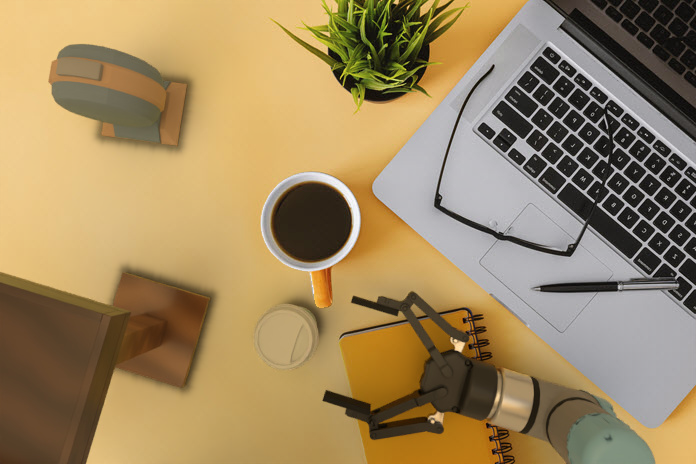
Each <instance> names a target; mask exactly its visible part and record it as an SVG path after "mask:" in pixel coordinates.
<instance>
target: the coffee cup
mask: <svg viewBox="0 0 696 464" xmlns="http://www.w3.org/2000/svg"><path fill="white" fill-rule="evenodd" d="M252 337H253V340H252V341H253V345H254V349H255V351H256V354H257V356H258V357H259V359H260V360H261V361H263V363H265V364H266V365H267V366H268V367H271V368H273V369H275V370H279V371H293V370H295V369H299V368H301V367H303V366H305V365H306V364H307V363H308V362H309V361H310V360H311V359H312V358H313V356H314V355H315V353H316V352H317V348H318V345H319V340H320V339H319V328H318V321H317V318H316V315H315V314H314V313H313V312H312V311H311V310H310V309H308V308H307V307H304V306H302V305H301V306H300V305H296V304H291V303H281V304H276V305H274V306H272V307H270V308H268V309H266V310H265V311H264V312H263V313H262V314H261V315H260V317H259V318H258V320H257V321H256V324H255V326H254V329H253V336H252Z"/></svg>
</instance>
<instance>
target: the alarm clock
mask: <svg viewBox="0 0 696 464" xmlns="http://www.w3.org/2000/svg"><path fill="white" fill-rule="evenodd" d="M49 69H50V70H49V74H48V75H49V76H48V84H50V86H51V96H52V98H53V101H54V102H55V103H56V104H57V105H58V106H60V107H61V108H63V109H64V110H66V111H68V112H70V113H73V114H75V115H78V116H81V117H84V118H87V119H90V120H94V121H98V122H102V129H101V136H103V137H112V138H117V139H126V140H133V141H140V142H148V143H155V144H163V145H167V146H176V147H177V146H178V143H179V137H180V131H181V126H182V119H183V112H184V106H185V100H186V94H187V87H188V84H187V83H181V82H175V81H174V82H173V81H170V80H164V79H163V76H162V74H161V72H160V71H159V70H158V69H157V68H156V67H154V66H153V65H152V64H150V63H149V62H147V61H145V60H143V59H141V58H139V57H137V56H134V55H132V54H130V53H127V52H124V51H121V50H118V49H114V48H110V47H106V46H103V45H97V44H89V43H75V44H68V45H65V46H64V47H63V48H62V49H61V50H60V51H58V53H57V56H56V59H54V60H52V61H51V64H50V68H49Z"/></svg>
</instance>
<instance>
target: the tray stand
mask: <svg viewBox="0 0 696 464" xmlns="http://www.w3.org/2000/svg"><path fill="white" fill-rule="evenodd" d="M210 301H211V297H209V296H207V295H206V296H205V295H202V294H198V293H196V292H192V291H189V290H186V289H183V288H180V287H175V286H172V285H169V284H165V283H162V282H159V281H155V280H152V279H149V278H147V277H142V276H139V275H136V274H132V273H129V272H122V273H121V277H120V279H119V283H118V286H117V289H116V293H115V296H114V300H113V303H112V306H114V307H118V308H121V309H124V310H127V311H131V315H130V318H129V321H128V325H127V328H126V331H125V335H124V338H123V341H122V345H121V348H120V351H119V355H118V358H117V362H116V365H115V368H117V369H120V370H123V371H126V372H129V373H133V374H135V375H140V376H143V377H146V378H148V379H151V380H155V381H159V382H162V383H165V384H167V385H171V386H175V387H178V388H181V389H183V388H184V387H185V386H186V383H187V379H188V376H189V373H190V369H191V365H192V363H193V359H194V355H195V353H196V352H195V351H196V349H197V346H198V342H199V338H200V335H201V331H202V328H203V325H204V321H205V318H206V314H207V312H208V308H209V305H210Z"/></svg>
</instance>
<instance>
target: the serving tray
mask: <svg viewBox="0 0 696 464" xmlns="http://www.w3.org/2000/svg"><path fill="white" fill-rule="evenodd" d="M130 315H131V311H127V310H124V309H121V308H118V307H114V306H113V305H110V304H107V303H104V302H101V301H97V300H94V299H92V298H88V297H85V296H82V295H78V294H75V293H72V292H68V291H65V290H62V289H58V288H55V287H52V286H49V285H45V284H42V283H39V282H35V281H32V280H29V279H25V278H22V277H19V276H16V275H12V274H9V273H6V272H2V271H0V464H87V462H88V459H89V455H90V452H91V448H92V445H93V443H94V438H95V435H96V431H97V429H98V425H99V421H100V418H101V415H102V411H103V408H104V406H105V402H106V399H107V396H108V395H107V394H108V391H109V388H110V384H111V382H112V378H113V375H114V372H115V369H116V367H115V365H116V362H117V358H118V355H119V351H120V348H121V345H122V341H123V338H124V335H125V331H126V328H127V325H128V321H129V318H130Z"/></svg>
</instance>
